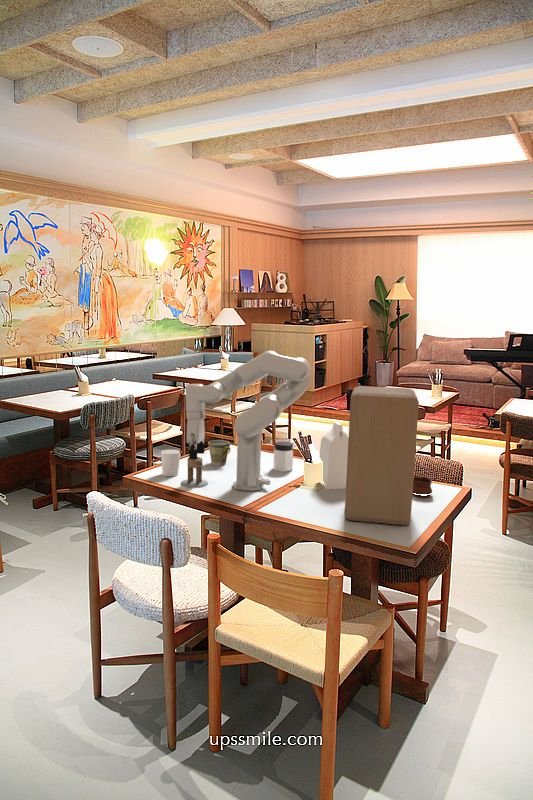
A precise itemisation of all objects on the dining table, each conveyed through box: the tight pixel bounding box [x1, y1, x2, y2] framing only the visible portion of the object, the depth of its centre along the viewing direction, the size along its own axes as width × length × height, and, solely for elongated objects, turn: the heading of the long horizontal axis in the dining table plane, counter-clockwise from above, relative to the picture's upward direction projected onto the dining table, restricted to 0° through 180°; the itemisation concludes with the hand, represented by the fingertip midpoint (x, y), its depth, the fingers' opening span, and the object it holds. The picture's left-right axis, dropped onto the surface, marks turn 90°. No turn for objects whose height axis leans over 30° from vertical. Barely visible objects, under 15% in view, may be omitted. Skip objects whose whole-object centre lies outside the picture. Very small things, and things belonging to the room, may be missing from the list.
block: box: [344, 385, 420, 526], centre depth 219 cm, size 22×22×45 cm
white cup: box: [160, 449, 181, 477], centre depth 264 cm, size 8×8×10 cm
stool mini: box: [187, 456, 203, 485], centre depth 252 cm, size 6×6×10 cm
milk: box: [319, 421, 349, 490], centre depth 256 cm, size 12×12×26 cm
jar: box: [273, 440, 294, 473], centre depth 278 cm, size 9×8×12 cm
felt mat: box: [180, 478, 209, 488], centre depth 253 cm, size 11×11×1 cm
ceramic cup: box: [207, 439, 231, 466], centre depth 283 cm, size 13×10×10 cm
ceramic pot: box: [412, 476, 433, 502], centre depth 246 cm, size 18×18×7 cm
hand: (197, 456), depth 251 cm, fingers open, 9 cm apart
